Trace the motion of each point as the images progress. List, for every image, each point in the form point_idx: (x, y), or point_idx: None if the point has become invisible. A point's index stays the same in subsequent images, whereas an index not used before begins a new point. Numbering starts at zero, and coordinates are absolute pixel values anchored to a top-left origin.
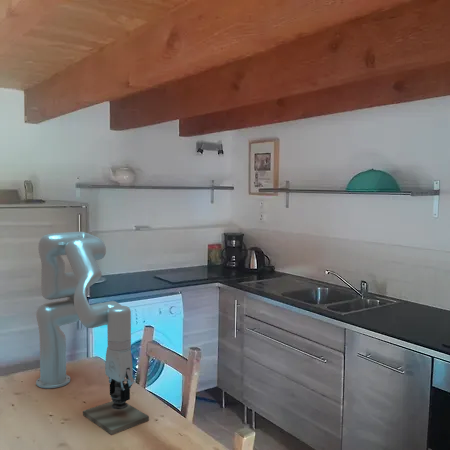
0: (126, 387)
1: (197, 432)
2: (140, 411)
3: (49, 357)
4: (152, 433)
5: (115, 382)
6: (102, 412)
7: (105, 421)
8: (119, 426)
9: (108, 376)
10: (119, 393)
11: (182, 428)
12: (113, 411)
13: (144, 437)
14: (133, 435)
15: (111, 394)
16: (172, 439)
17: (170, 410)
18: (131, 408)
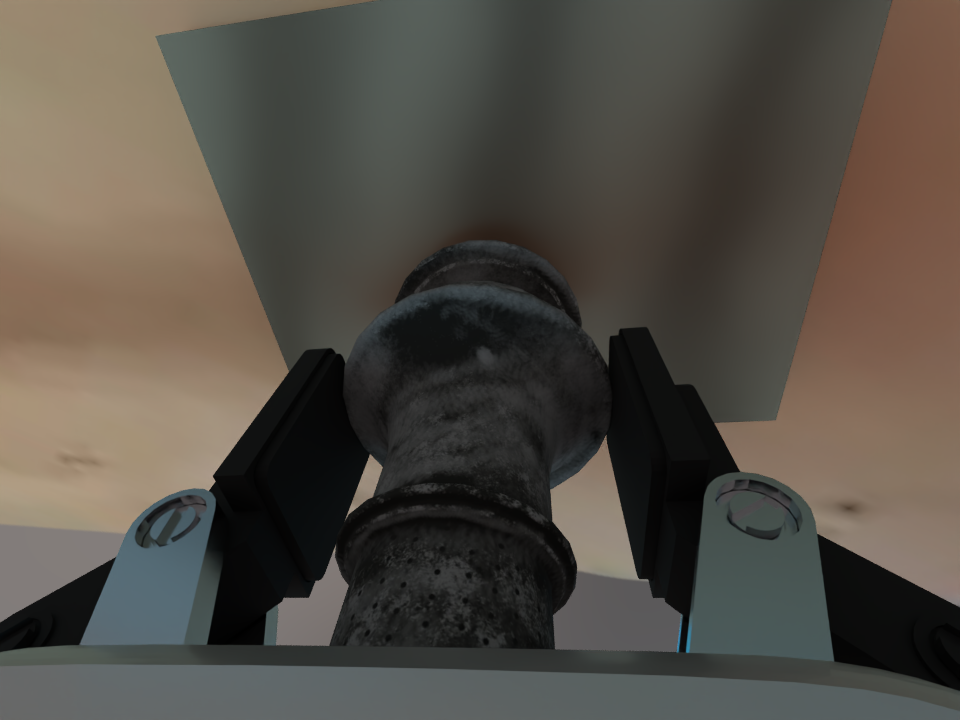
0: (70, 586)
1: (80, 520)
2: None
3: None
4: (126, 348)
5: (450, 566)
6: (641, 152)
7: (403, 77)
8: (220, 162)
9: (694, 683)
10: (395, 421)
11: (147, 496)
12: (574, 264)
13: (75, 276)
14: (128, 222)
15: (581, 337)
16: (14, 400)
17: None
18: None
